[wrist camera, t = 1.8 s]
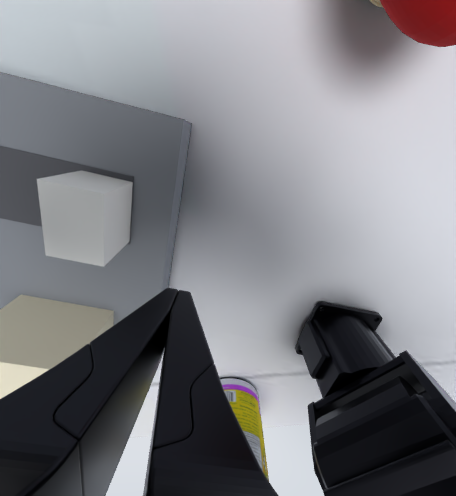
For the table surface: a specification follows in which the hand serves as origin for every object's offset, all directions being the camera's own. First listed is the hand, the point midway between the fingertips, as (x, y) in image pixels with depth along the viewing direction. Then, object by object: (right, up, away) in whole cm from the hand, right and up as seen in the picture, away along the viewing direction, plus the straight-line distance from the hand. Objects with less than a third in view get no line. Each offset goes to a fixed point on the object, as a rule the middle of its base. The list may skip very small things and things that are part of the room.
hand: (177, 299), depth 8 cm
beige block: (-12, -6, +11) cm, 17 cm away
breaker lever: (-6, +4, +6) cm, 10 cm away
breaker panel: (-12, +1, +11) cm, 17 cm away
